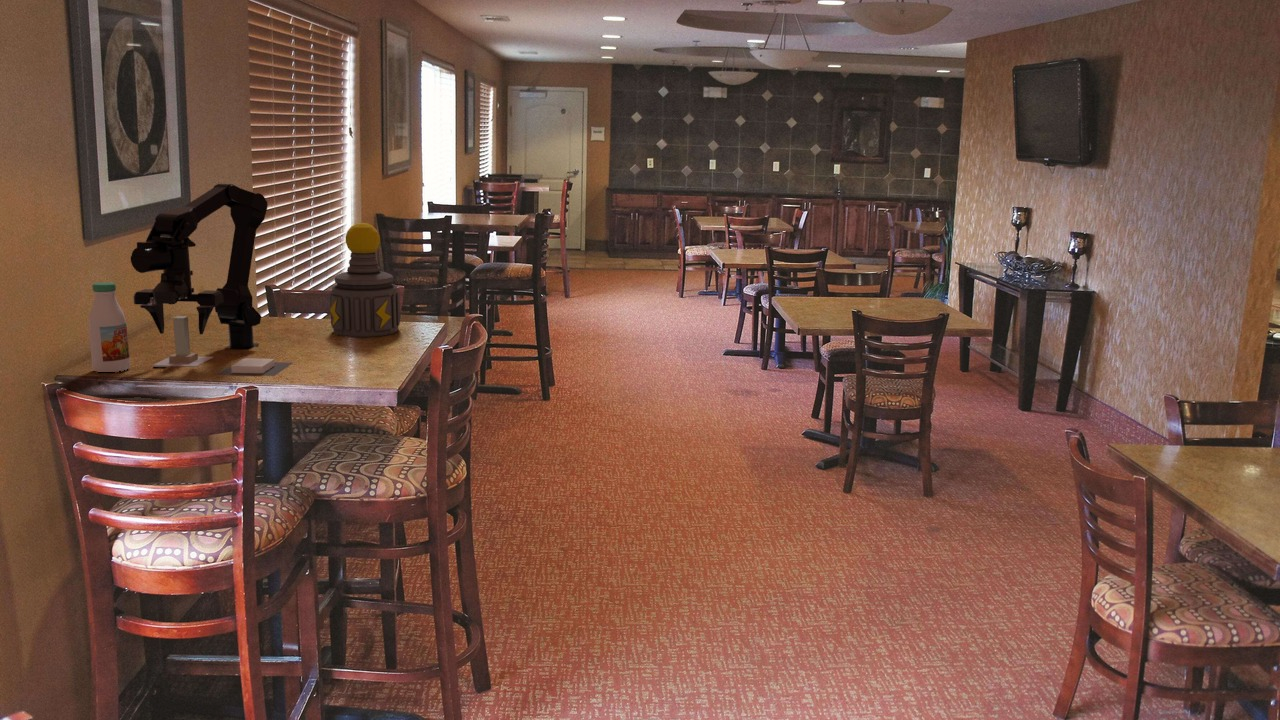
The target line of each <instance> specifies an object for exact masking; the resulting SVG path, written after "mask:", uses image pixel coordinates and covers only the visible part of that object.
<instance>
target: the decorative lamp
mask: <svg viewBox="0 0 1280 720" xmlns="http://www.w3.org/2000/svg"><path fill="white" fill-rule="evenodd" d="M380 243H381V236H380V234H379V232H378V230H377V229H376V228H375V227H374V226H373V225H372V224H370V223H368V222H358V223H355V224H353V225H351V226H350V228H348V230H347V231H346V235H345V244H346V247H347V249H348V250H349V251H350V252H351V253H350V259H349V261H348V265H349V266H348V267H347V269H346V271H345V272H340V273H339V274H337V275H335V276H334V283H336V284H334V285H333V286H331V292H330V293H329V303H330V305H329V307H330V308H329V311H330V326H331V327H332V329H333V334H335V335H338V336H341V337H347V338H377V337H385V336H389V335H393V334H395V333H396V332H398V330H399V326H400V324H401V317H400V316H401V312H400V311H401V310H400V292H399V291H398V286H397V285H396V284H394V283H393V282H394V276H393V275H392V274H390V273H388V272H386V271H381V266H379V265H378V264H379V261H378V259H377V253H376V251H377V250H378V249H379V246H380Z"/></svg>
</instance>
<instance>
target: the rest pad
mask: <svg viewBox="0 0 1280 720" xmlns="http://www.w3.org/2000/svg"><path fill="white" fill-rule="evenodd" d="M213 358H214V356H199V355H198V360H196V361H194V362H192V363H169V356H168V357H166V358H164V359H162V360H161V361H158V362H156V363H154V364H153V365H152V368H153V367H168V368H169V367H193V368H194V367H199V366H200V365H202V364H204V363H205V362H207V361H210V360H211V359H213Z"/></svg>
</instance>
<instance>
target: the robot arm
mask: <svg viewBox="0 0 1280 720" xmlns="http://www.w3.org/2000/svg"><path fill="white" fill-rule="evenodd" d="M224 206H225V207H228V208H230V217H231V219H232V220H231V221H232V222H233V224H234V232H233V237H232V244H231V245H232V246H231V252H230V257H229V258H230V259H229V265H228V271H227V272H228V273H227V276H226V277H227V279H226V283H225V284H224V285H223V287H222V288H219V287H217V288H216V290H203V291H201V292H198V293H195V288H194V287H192V276H193V275H194V273H193V272H194V271H193V270H191V263H190V261H191V260H190V250H189V249H190V248H193V247H196V246H197V244H196V243H195V242H194V241H193V240H191V239H190V236H191V235H192V234H194V232H195V231H196V230H197V229H198V225H199V223H200V222H201V221H202V220H204V219H206V218H207V217H209V216H210V215H212V214H213V213H215V212H216V211H218V210H219V209H221V208H222V207H224ZM267 210H268V201H267V199H266V197H265V196H264V195H263V194H262V193H259V192H252V191H249V190H247V189H244V188H241V187H238V185H235V184H232V183H217V184H215V185H214V186H213V188H211V189H209V190H208V191H206V192H204V193H203V194H201V195H199V196H198V197H197V198H194V200H192V201H190V202H188V203H186V205H184V206H180V207H177V208H171V209H168V210H165V211H163V212H160V213H158V214H157V215H156V217H155V218H154V223H153V226H152V227H151V229H150V231H149V233H148V236H147V238H146V240H145V241H137V242H136V248H134V249H133V250H132V252H131V256H130V263H131V266H132V267H133V269H134V270H135V271H136V272H138V273H141V274H145V273H150V272H158V271H163V272H161V273H160V281H159V283H157V285H156V286H154V287H153V288H145V289H142V290H141V289H140V290H137V291H136V292H135V293H134V295H133V304H134V305H140V306H139V307H140V308H141V309H144V310H146V311H147V312H148V313H149V315H150V316H151V317H152V320H153V322H154V323H155V325H156V327H157V329H158V332H159V333H160V334H161V335H162V334H164V332H165V314H164V311H165V310H164V305H165V304H168V305H175V304H177V303H178V302H189V303H192V302H193V303H197V304H198V305H199V306H197V307H196V311H197V313H198V333H199V335H200V336H201V335H203V334H204V332H205V329H206V327H207V324H208V322H209V318H210V316H211V314H212V312H213V309H214V311H215V313H216V314H217V317H218V320H219V322H220V324H221V325H227V327H228V339H229V345H227V346H225V347H224V350H252V349H253V348H255V347H256V348H257V347H258V346H260V344H259V343H256V342H254V327H257V325H260V324H261V321H262V315H261V314H260V313H259V311H257V309H255V307H254V306H253V296H252V293H251V291H250V288H249V280H250V274H251V268H252V259H253V254H254V253H253V252H254V247H255V240H256V233H257V229H258V228H259V227H260V226H261V225H262V223H263V222H264V221H265V217H266V214H267Z"/></svg>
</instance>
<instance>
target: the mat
mask: <svg viewBox="0 0 1280 720" xmlns="http://www.w3.org/2000/svg"><path fill="white" fill-rule="evenodd" d="M239 361H240V360H239ZM239 361H237V362H239ZM234 364H235V363H234ZM234 364H232V365H234ZM292 364H293V362H287V361H286V362H285V361H284V362H282V361H281V362H280V361H279V362H276V361H275V366H274V367H272V368H270V369H269V370H267V371H266V372H264V373H263V374H244V373H232V370H231V366H232V365H229V366H228V367H227V368H225V369H223V370H222V371H220V372H218V373H217V375H219V376H220V375H224V376H225V375H227V376H266V377H267V376H268V377H269V376H271V377H272V376H276V375H278V374H279V373H281V372H282V371H284V370H285V369H286V368H288V367H289V366H291V365H292Z"/></svg>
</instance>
